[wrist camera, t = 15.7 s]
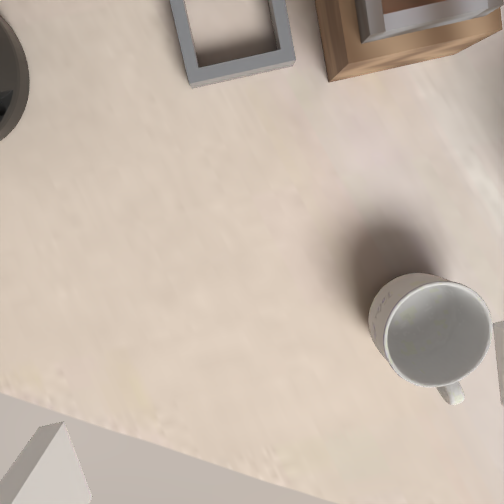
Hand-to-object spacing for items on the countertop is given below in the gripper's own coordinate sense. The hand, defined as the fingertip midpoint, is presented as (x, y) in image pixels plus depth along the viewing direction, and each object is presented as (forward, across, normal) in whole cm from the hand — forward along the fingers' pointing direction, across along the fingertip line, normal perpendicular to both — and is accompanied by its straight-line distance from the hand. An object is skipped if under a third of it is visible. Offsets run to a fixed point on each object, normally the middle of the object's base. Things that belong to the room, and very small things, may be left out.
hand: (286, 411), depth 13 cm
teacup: (+34, +16, -15) cm, 40 cm away
